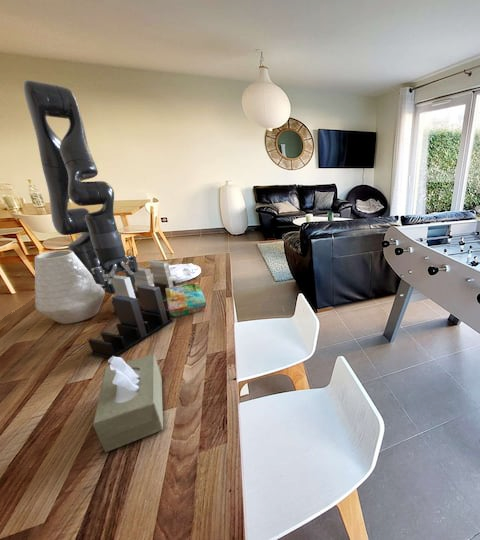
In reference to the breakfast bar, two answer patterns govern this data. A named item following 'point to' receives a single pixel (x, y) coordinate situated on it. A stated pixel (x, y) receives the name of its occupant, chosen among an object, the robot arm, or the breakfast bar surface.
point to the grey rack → (133, 322)
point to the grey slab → (160, 279)
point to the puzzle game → (185, 299)
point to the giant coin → (183, 272)
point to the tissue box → (129, 402)
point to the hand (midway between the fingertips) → (122, 288)
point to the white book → (123, 286)
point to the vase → (65, 288)
